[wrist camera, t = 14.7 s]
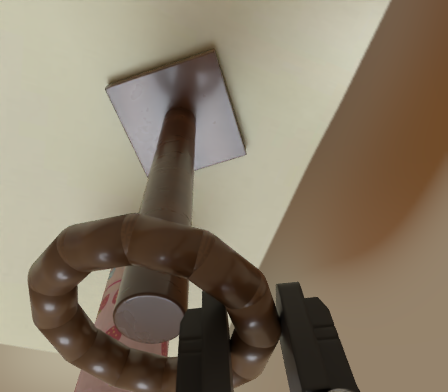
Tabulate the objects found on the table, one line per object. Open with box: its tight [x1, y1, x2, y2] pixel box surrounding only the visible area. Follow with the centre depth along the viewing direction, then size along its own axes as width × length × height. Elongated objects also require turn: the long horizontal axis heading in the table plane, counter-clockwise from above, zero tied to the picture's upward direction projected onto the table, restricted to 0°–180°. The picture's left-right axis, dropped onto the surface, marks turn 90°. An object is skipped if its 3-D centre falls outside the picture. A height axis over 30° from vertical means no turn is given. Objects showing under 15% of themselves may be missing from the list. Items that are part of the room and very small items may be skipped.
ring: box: [28, 213, 281, 392], centre depth 12 cm, size 8×8×1 cm
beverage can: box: [74, 266, 169, 392], centre depth 29 cm, size 6×6×15 cm
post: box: [105, 49, 246, 344], centre depth 20 cm, size 8×8×19 cm
